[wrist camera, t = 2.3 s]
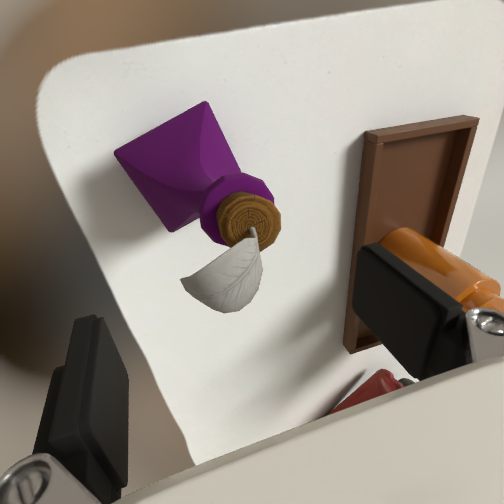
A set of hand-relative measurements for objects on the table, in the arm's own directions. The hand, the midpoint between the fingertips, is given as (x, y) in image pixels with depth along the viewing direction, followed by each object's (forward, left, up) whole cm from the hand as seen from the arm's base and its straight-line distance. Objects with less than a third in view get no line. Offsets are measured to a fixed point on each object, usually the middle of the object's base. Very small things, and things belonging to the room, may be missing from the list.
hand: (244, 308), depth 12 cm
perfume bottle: (0, 0, -19) cm, 19 cm away
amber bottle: (-6, +27, -19) cm, 33 cm away
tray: (-6, +27, -19) cm, 34 cm away
